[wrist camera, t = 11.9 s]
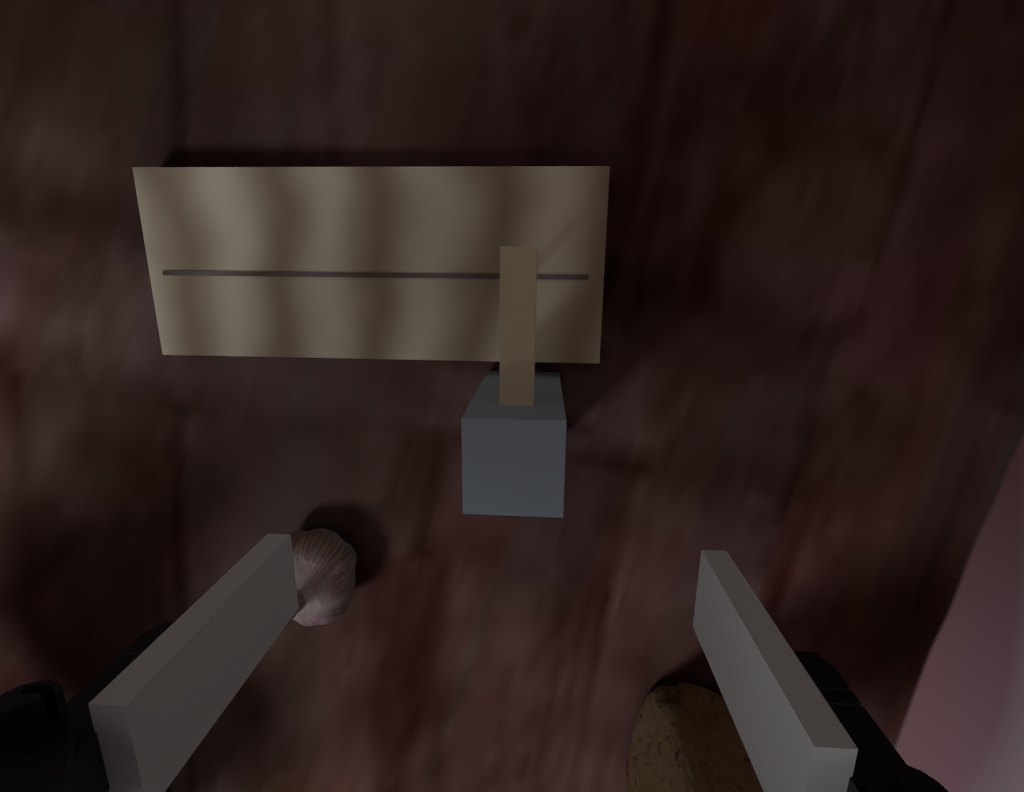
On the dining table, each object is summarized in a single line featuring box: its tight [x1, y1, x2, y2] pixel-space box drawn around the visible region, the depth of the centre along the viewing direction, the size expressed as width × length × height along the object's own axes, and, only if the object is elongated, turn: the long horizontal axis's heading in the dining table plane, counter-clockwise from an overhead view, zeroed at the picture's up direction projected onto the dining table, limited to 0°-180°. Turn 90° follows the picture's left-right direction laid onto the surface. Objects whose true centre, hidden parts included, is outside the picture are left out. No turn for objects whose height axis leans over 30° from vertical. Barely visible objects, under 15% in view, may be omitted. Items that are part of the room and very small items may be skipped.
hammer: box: [461, 246, 567, 518], centre depth 29 cm, size 5×13×12 cm, turn 179°
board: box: [132, 166, 610, 363], centre depth 33 cm, size 30×12×2 cm, turn 89°
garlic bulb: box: [282, 528, 357, 631], centre depth 36 cm, size 8×7×8 cm
